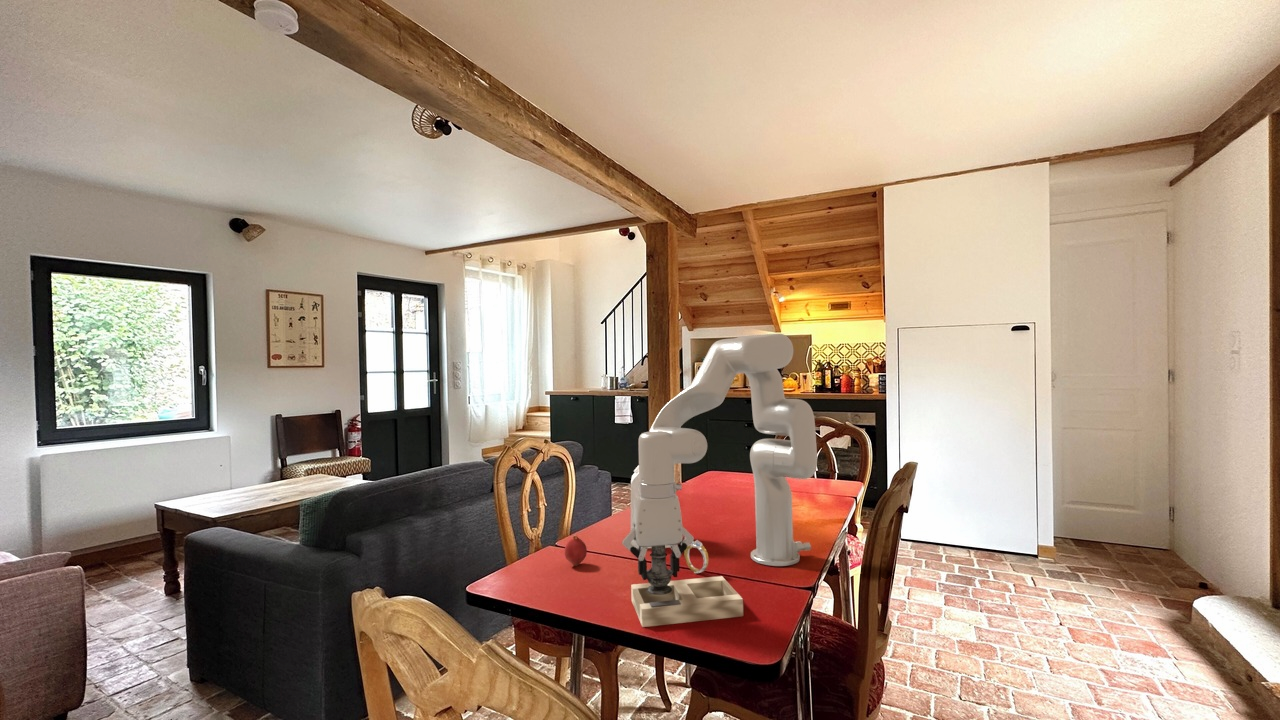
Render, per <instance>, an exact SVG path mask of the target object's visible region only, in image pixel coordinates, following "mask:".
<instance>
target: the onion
mask: <svg viewBox="0 0 1280 720" xmlns="http://www.w3.org/2000/svg"><path fill="white" fill-rule="evenodd" d="M587 549H588V548H587V546H586V543H585V542H584V541H583V540H582V539H581V538H579V537H578V535H576V534H574V535H573V536H572V538H571V539H570V540H569V541H567V543H566V544H565V547H564V556H565V559H566V560H567V561H568V562H569V563H571V564H572V565H573V566H574V567H575V566H578V565H580V564H581V563H582V562H583V561H585V558H586V557H587V554H588V553H587V551H588V550H587Z"/></svg>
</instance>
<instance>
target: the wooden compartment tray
mask: <svg viewBox="0 0 1280 720" xmlns="http://www.w3.org/2000/svg"><path fill="white" fill-rule="evenodd" d="M630 586H631V587H630V591H631V594H630V596H631V603H632V605H633V608H634V610H635V612H636V615H637V618H638V620H639V622H640V625H641V627H642V628H645V627H657V626H665V625H674V624H683V623H685V624H686V623H693V622H704V621H710V620H711V621H713V620H720V619H730V618H739V617H744V598H743V597H742V596H741V595H740V594H739V593H738V591H736V590H735V589H734V588H733V586H732V585H731V584H730V583H729V582H728V581H727V580H726V579H725V578H724V576H722V575H720V576H709V577H699V578H688V579H687V578H685V579H678V580H671V581H670V582H669V584H668V586H670V587H671V588H672V591H671V592H670V593H668V594H664V595H654V594H650V593H649V592H647V588H648V587H649V586H651V584H650V583H649V582H645V583H634V584H630Z"/></svg>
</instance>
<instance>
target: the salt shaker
mask: <svg viewBox="0 0 1280 720" xmlns="http://www.w3.org/2000/svg"><path fill="white" fill-rule="evenodd" d="M649 556H650V557H651V566H650V569H647V579H646V581H647V583H650V584H651V586H649V587H648V588H647V592H649V593H650V594H654V595H664V594H668V593H670V592H671V591H672V588H671V587H670V586H668V584H669V582H670V581H672V577H673V572H672V571H671V569H670V568H668V566H667V556H668V553H667V552H666V548H665V546H654V547H652V548H651V553H650V554H649Z"/></svg>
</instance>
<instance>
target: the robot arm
mask: <svg viewBox="0 0 1280 720" xmlns="http://www.w3.org/2000/svg"><path fill="white" fill-rule="evenodd" d="M793 356H794V346H793V342H792V340H791V339H790V338H789V337H788V336H787V335H785V334H784V333H767V334H752V335H751V334H749V335H741V336H738V337H734V338H725V339H719V340H717V341H715V342H714V343H712V345H711V346H710V348H709V349H708V351H707V353H706V355H705V356H704V359H703V361H702V362H701V364H700V366H699V369H698V371H696V372H697V373H696V374H695V376H694V378H693V380H692V382H691V383H690V385H688V386H687V387H686V388H684V389H683V390H682V391H680V393H678V394H677V395H676V396H674V397H673V398H672V399H670V400H669V402H667V403H666V404H665V405H664V406H663V407H662V409H661V410H660V411H659V412H658V414H657V416H656V417H655V419H654V421H653V423H652V425H651V427H650V429H649V431H646V432H645V431H644V432H641V434H640V435H639V437H638V465H639V490H640V496H637V497H636V499H635V505H634V517H633V529H632V530H631V529H630V532H628V534H627V535H626V536H625V537H624V539H623V540H622V541H621V543H622V546H624V547H625V548H626V549H627V551H630V553H631V554H632V555H633V556H634V557H636V558H637V563H638V564H637V565H638V568H637V569H638V570H637V571H638V575H639V576H641V578H642V580H643V581H647V570H648V568H647V567H648V566H647V563H648V562H647V559H646V554H647V552H648V549H649V548H648V547H654V546H667V545H670V547H671V548H670V549H671V553H670V555H669V556H670V557H669V558H670V559H669V560H670V561H669V562H670V563H669V564H670V570H671V571H672V572H673V575H672V577H674V578H678V572H680V558H681V556H682V554H684V551H685V550H686V548H687V546H689V545H690V544H691V543H692V541H694V540H695V538H694V536H693V535H692V534H691V533H690V532H689V531H688V530H687V529H686V528H685V527H684V526H683V519H682V518H683V517H682V511H681V506H680V505H681V504H680V501H679V496H678V495H677V491H682V484H681V483H677V482H676V477H675V475H676V474H675V473H676V472H675V465H676V464H694V463H698V462H699V461H700V460H702V459H703V458H704V457H705V456H706V453H707V452H708V451H707V450H708V442H707V441H708V440H707V439H706V438H707V437H705V435H704V434H703V433H702V432H701V431H699V430H697V429H693V428H686V427H682V426H683V425H684V424H685V423H687V422H688V421H689V420H690V419H692V418H693V417H696V416H698V415H700V414H703V413H706V412H709V411H711V410H713V409H715V408H717V407H720V405H721V404H722V403H723V402H724V400H725V398H726V396H727V394H728V392H729V390H730V388H731V386H732V384H733V381H734V380H735V378H736V376H737V375H738V374H739V375H740V374H744V375H745V376H746V378H747V380H748V382H749V388H750V398H751V411H752V420H753V422H752V423H753V426H754V428H755V430H756V431H758V432H759V433H762V434H765V435H773V436H774V435H775V436H786V437H789V439H782V438H762V439H759V440H757V441H755V442H754V443H753V444H752V446H751V448H750V452H749V460H750V466H751V471H752V475H753V482H754V504H755V505H754V509H755V537H756V538H755V541H756V543H755V544H756V548H755V549H753V550H752V551H750V558H751V559H752V561H754V562H755V563H757V564H761V565H765V566H772V567H787V566H788V567H789V566H793V565H796V564H798V563H799V562H800V557H801V556H800V552H801V551H811V550H812V545H811V544H810V542H802V541H800V540H799V541H798V540H797V541H795V540H794V528H793V496H792V495H793V493H792V490H791V486H790V484H789V481H788V480H787V478H790V479H797V480H807V479H810V478H811V477H813V476H814V475H815V473H816V471H817V468H818V466H817V465H818V450H817V449H818V448H817V435H816V423H815V422H816V421H815V415H814V411H813V409H812V407H811V405H810V404H809V403H808V402H807V401H805V400H803V399H800V398H786V397H785V396H786V395H785V391H784V382H783V378H782V377H783V376H782V375H781V373H780V371H779V370H778V369H782V368H785V367H786V366H788V365H789V364H790V362H791V361H792V359H793ZM633 539H634V540H635V541H636V543H637V545H638V546H639V547H638V548H636V547H635V546H633V545H632V544H631V542H632V540H633Z"/></svg>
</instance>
